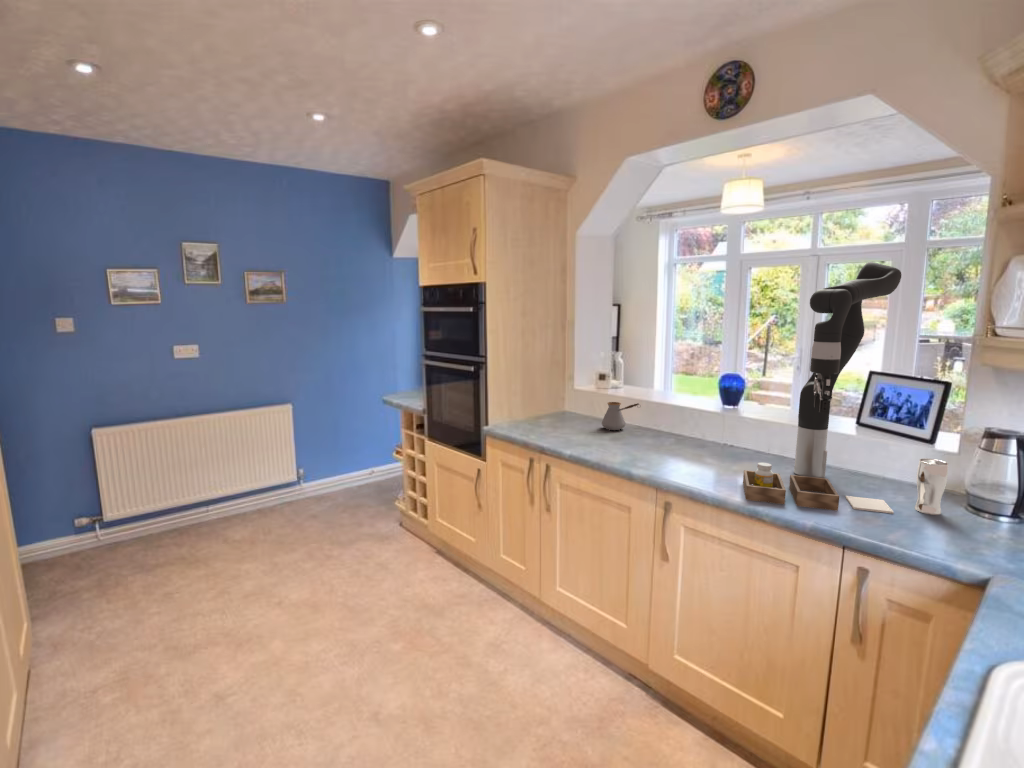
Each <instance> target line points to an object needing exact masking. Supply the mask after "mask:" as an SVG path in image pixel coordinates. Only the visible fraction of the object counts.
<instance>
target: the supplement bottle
mask: <svg viewBox="0 0 1024 768" xmlns="http://www.w3.org/2000/svg"><path fill="white" fill-rule="evenodd" d="M772 466H773V465H772V464H771V463H768V462H757V469H755V470H754V471H755V478H754V485H753V486H760V487H769V488H774V487H773V473H774V472H773V471H772V468H773V467H772Z"/></svg>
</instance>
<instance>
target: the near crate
mask: <svg viewBox="0 0 1024 768" xmlns="http://www.w3.org/2000/svg"><path fill="white" fill-rule="evenodd" d="M788 488H789V490H790V491H789V492H790V494H791V496H792V498H793V501H794V503H795V506H796V507H802V508H804V507H805V508H811V509H817V510H818V509H819V510H825V511H826V510H827V511H834V512H835V511H836V512H837V511H839V505H840V494H838V492H837V490H836V489H835V487H834V486H833V484H832V483H831V481H830V479H829V478H826V477H825V478H816V477H806V476H800V475H797V474H790V475H789V485H788Z"/></svg>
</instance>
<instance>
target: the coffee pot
mask: <svg viewBox="0 0 1024 768" xmlns="http://www.w3.org/2000/svg"><path fill="white" fill-rule="evenodd" d="M606 405H608V408H607V410H606V412H605V413H604V416H603V419H602V420H601V425H602V427H603V428H606V429H610V430H619V431H621V430H622V429H624V428H625V426H626V421H625V419H624V416H623V414H622V411H623V410H629V409H632V408H634V407H637V408H638V409H639V408H641V404H640V403H639V402H638V403H634V404H630V405H627V406H625V407H623V408H621V405H622V403H621V402H618V401H609V402H607V404H606ZM606 429H605V430H606ZM620 429H621V430H620ZM610 430H609V431H610Z"/></svg>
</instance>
